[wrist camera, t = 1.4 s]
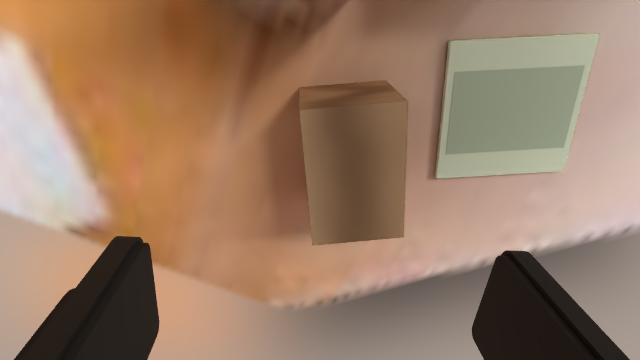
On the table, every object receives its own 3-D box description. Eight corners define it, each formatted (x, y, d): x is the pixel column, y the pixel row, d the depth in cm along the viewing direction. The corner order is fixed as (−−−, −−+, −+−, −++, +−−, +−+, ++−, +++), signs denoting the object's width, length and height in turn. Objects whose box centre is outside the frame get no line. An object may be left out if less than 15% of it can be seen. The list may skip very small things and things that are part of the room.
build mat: (595, 33, 25) (600, 33, 25) (560, 168, 30) (564, 171, 29) (448, 40, 25) (451, 41, 25) (434, 176, 29) (436, 178, 29)
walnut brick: (385, 80, 26) (407, 101, 21) (384, 194, 30) (403, 237, 25) (298, 87, 26) (299, 110, 21) (309, 201, 30) (312, 245, 25)
